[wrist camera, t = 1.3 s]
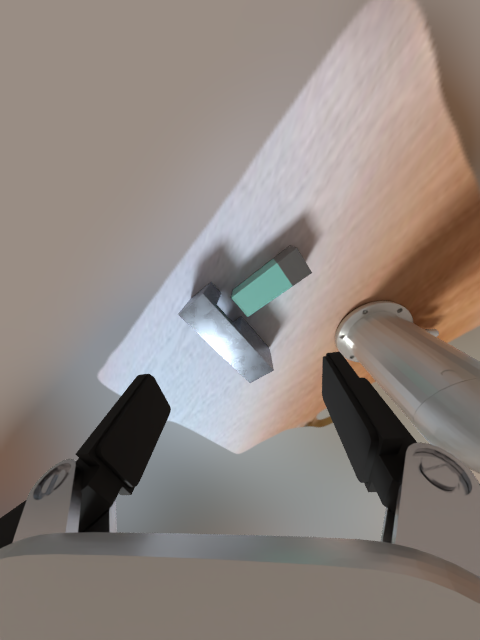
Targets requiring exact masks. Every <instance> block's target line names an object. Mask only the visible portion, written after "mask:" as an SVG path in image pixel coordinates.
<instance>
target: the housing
mask: <svg viewBox="0 0 480 640" xmlns="http://www.w3.org/2000/svg"><path fill="white" fill-rule="evenodd" d="M220 295H221V293H220V292H219V290H218V289H217V288H216V287H215V286H214V285H213V284H212V282H210V283H209V284H208V285H207V286H206V287H204V288H203V289H202V290H201V291H200V292H198V293H197V294H196V295H195V296H194V297H192V298H191V299H190V300H189V301H188V303H187V304H186V305H185V306H184V308H183V309H182V310H181V311H180V312H179V314H178V315H179V316H180V317H181V318H182V319H183V320H184V321H185V322H186V323H188V324H189V325H190V326H191V327H192V328H193V329H194V330H195V331H196V332H197V333H198V334H199V335H200V336H201V337H202V338H203V339H204V340H205V341H206V342H207V343H208V344H209V345H211V346H212V347H213V348H214V349H215V350H216V351H217V352H218V353H219V354H220V355H221V356H222V357H223V358H224V359H225V360H226V361H227V362H228V363H229V364H230V365H231V366H232V367H234V368H235V369H236V370H237V371H238V372H239V373H240V374H241V375H242V376H243V377H244V378H245V379H246V380H247V381H248V382H249V383H251V382H253V381H255V380H257V379H259V378H260V377H262V376H264V375H266V374H268V373H270V372H272V371H273V370H274V369H273V364H272V359H271V353H270V349H269V347H268V346H267V345H266V344H265V343H264V342H263V341H262V339H261V338H260V337H259V336H258V335H257V334H256V333H255V331H254V330H253V329H252V328H251V327H250V326H249V325H248V323H247V322H246V321H245V320H244V319H243V318H242V317H240V318H238V319H237V320H235V321H234V322H232V321H231V320H230V319H229V318H228V317H227V315H226V314H225V313H224V312H223V311H222V310H221V309H220V308H219V307H218V306H217V302H218V300H219V297H220Z"/></svg>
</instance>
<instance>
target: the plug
mask: <svg viewBox="0 0 480 640" xmlns="http://www.w3.org/2000/svg"><path fill="white" fill-rule="evenodd" d="M311 273H312V272H311V270H310V269H309V267H308V265H307V264H306V262H305V260H304V259H303V257H302V255H301V254H300V252H299V251H298V249H297V248H296V247H293V246H289V247H287V248H286V249H285V250H283V251H282V252H281V253H280V254H278V255H277V256H276V257H274V258H273V259H272V260H271V261H269V262H268V263H267V264H265V265H264V266H263V267H262V268H260V269H259V270H258V271H256V272H255V273H254V274H253V275H251V276H250V277H249V278H247V279H246V280H245V281H244V282H242V283H241V284H240V285H238V286H237V287H236V288H235V289H233V292H232V296H231V298H232V300H233V301H234V302H235V303H236V304H237V305H238V307H239V308H240V309H241V310H242V311H243V312H244V314H245V315H246V316H247V317H249V316H250V315H252V314H253V313H254V312H256V311H257V310H259V309H260V308H262V307H263V306H265V305H266V304H267V303H269V302H270V301H272V300H273V299H275V298H276V297H278V296H279V295H281V294H282V293H283V292H285V291H286V290H288V289H289V288H291V287H292V286H294V285H295V284H296V283H298V282H299V281H301V280H302V279H304V278H305V277H307V276H308V275H309V274H311Z"/></svg>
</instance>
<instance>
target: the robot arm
mask: <svg viewBox="0 0 480 640" xmlns="http://www.w3.org/2000/svg"><path fill="white" fill-rule="evenodd" d="M438 334H439V333H438V331H437V330H436V329H423V328H421V327H419V326H417V325H416V324H414V323H413V318H412V315H411V314H410V312H409V311H408V310H407V309H406V308H405V307H403V306H401V305H399V304H397V303H394V302H391V301H376V302H371V303H368V304H365V305H362V306H360V307H359V308H357V309H355V310H354V311H352V312H351V313H349V314H348V315H347V316H346V317H345V318H344V319H343V321H342V322H341V323H340V325H339V327H338V329H337V331H336V335H335V343H336V347H337V349H338V350H339V352H333V353H327V354H326V356H324V357H323V374H322V396H323V400H324V402H325V405H326V407H327V409H328V411H329V414H330V416H331V419H332V421H333V423H334V425H335V428H336V430H337V432H338V435H339V437H340V439H341V442H342V444H343V446H344V448H345V451H346V453H347V455H348V458H349V460H350V462H351V465H352V467H353V469H354V471H355V474H356V476H357V478H358V480H359V481H360V482H361V483H365V486H366V488H367V490H368V492H377V493H378V496H379V497H380V499H381V502H382V504H383V505H384V506H386V511H385V517H384V523H383V530H382V536H381V542H378V541H369V540H360V539H340V538H321V537H297V536H296V537H295V536H294V537H293V536H258V535H256V536H255V535H218V534H169V533H168V534H167V533H117V529H116V528H117V526H116V501H115V500H116V497H117V495H118V493H119V494H120V495H131V494H132V492H133V490H134V488H135V486H137V485H138V483H139V481H140V479H141V477H142V475H143V472H144V470H145V468H146V466H147V464H148V461H149V459H150V457H151V455H152V452H153V450H154V448H155V446H156V443H157V441H158V438H159V436H160V434H161V432H162V430H163V428H164V425H165V423H166V421H167V419H168V416H169V414H170V410H171V409H170V405H169V404H168V402H167V400H166V398H165V396H164V395H163V393H162V391H161V389H160V387H159V385H158V384H157V382H156V380H155V378H154V377H153V376H151V375H150V374H143V375H138V376H137V377H136V378H135V379H134V381H133V382H132V383H131V384H130V386H129V387H128V388H127V390H126V391H125V392H124V393H123V395H122V396H121V397H120V398H119V400H118V401H117V402H116V404H115V405H114V406H113V407H112V409H111V410H110V411H109V412H108V414H107V415H106V416H105V417H104V419H103V420H102V421H101V423H100V424H99V425H98V426H97V428H96V429H95V430H94V431H93V433H92V434H91V435H90V437H89V438H88V439H87V440H86V442H85V443H84V444H83V445H82V447H81V448H80V449H79V450H78V452H77V453H76V455H77V456H78V457H79V459H78V460H77V461H75V460H74V459H66V460H63V461H61V462H59V463H58V464H56V465H55V466H53V467H52V468H50V469H49V470H48V471H47V472H46V473H45V474H44V475H43V476H42V477H41V478H40V479H39V480H38V481H37V482H36V484H35V485H34V486H33V488H32V489H31V491H30V493H29V495H28V498H27V500H26V501H24V502H23V503H21V504H20V505H19V506H17V507H16V508H14V509H13V510H11V511H10V512H9V513H7V514H6V515H4V516H3V517H2V518H0V640H480V484H479V482H478V480H477V479H476V478H475V476H474V474H473V473H472V471H470V470H473V471H475V472H477V473H480V361H478V360H476V359H474V358H472V357H470V356H469V355H467V354H465V353H464V352H462V351H460V350H458V349H456V348H455V347H453V346H451V345H449V344H448V343H446V342H444V341H442V340H441V339H439V338H437V336H438ZM344 357H345V358H347V359H349V360H351V361H355V362H360V363H361V364H362V365H363V367H364V368H365V369H366V370H367V371H368V372H369V374H370V375H371V376H372V377H373V378H374V379H375V381H376V382H377V383H378V384H379V385H380V386H381V388H382V389H383V390H384V391H385V392H386V394H387V395H388V396H389V397H390V398H391V399H392V400H393V402H394V403H395V404H396V405H397V406H398V407H399V409H400V410H401V411H402V412H403V413H404V415H405V416H406V417H407V418H408V419H409V420H410V421H411V423H412V424H413V425H414V426H415V427H416V428H417V430H418V431H419V432H420V433H421V434H422V435H423V436H424V438H425V439H426V440H427V441H428V442H429V443H430V444H426V443H417V442H416V440H415V439H414V438H413V437H412V436H411V434H410V433H409V432H408V430H407V429H406V428H405V427H404V425H403V424H402V423H401V422H400V420H399V419H398V418H397V416H396V415H395V414H394V413H393V411H392V410H391V409H390V408H389V406H388V405H387V404H386V403H385V401H384V400H383V399H382V398H381V397H380V395H379V394H378V392H377V391H376V390H375V389H374V387H373V386H372V385H371V384H370V382H369V381H368V380H367V379H365V378H359V377H358V375H357V374H356V373H355V371H354V370H353V369H352V367H351V366H350V365H349V363H348V362H347V361H346V359H345V358H344Z"/></svg>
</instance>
